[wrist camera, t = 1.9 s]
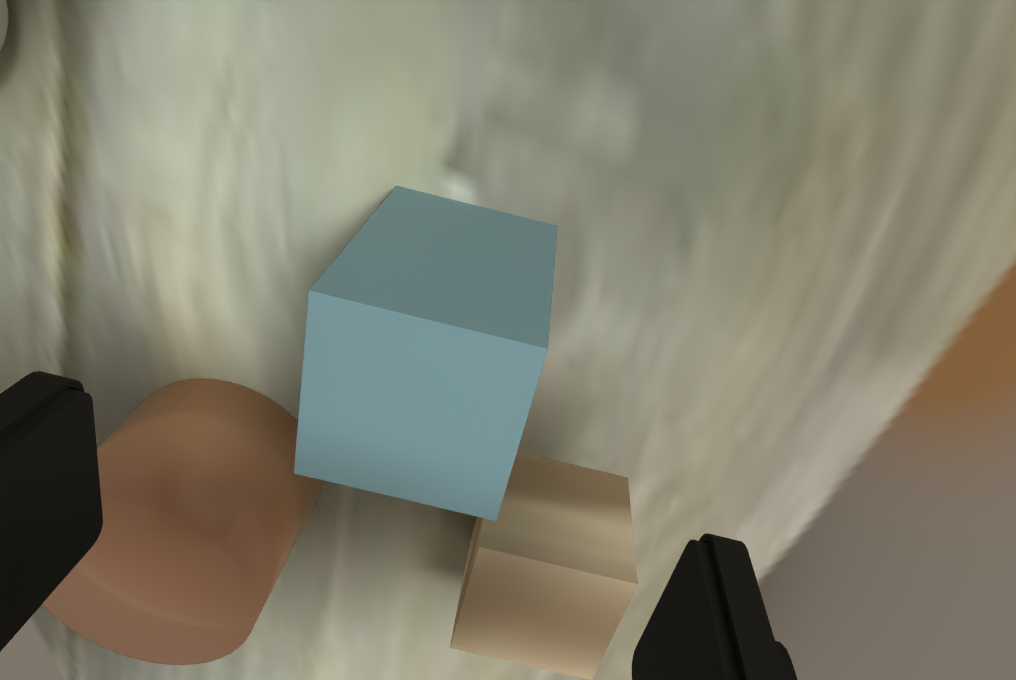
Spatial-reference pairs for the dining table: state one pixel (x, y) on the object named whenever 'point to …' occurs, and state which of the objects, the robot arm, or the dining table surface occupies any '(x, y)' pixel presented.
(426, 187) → the dining table surface
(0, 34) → the grey ball
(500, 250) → the teal block
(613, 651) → the dining table surface
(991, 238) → the dining table surface
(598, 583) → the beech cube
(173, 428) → the peach cylinder
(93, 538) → the robot arm
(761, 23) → the dining table surface
